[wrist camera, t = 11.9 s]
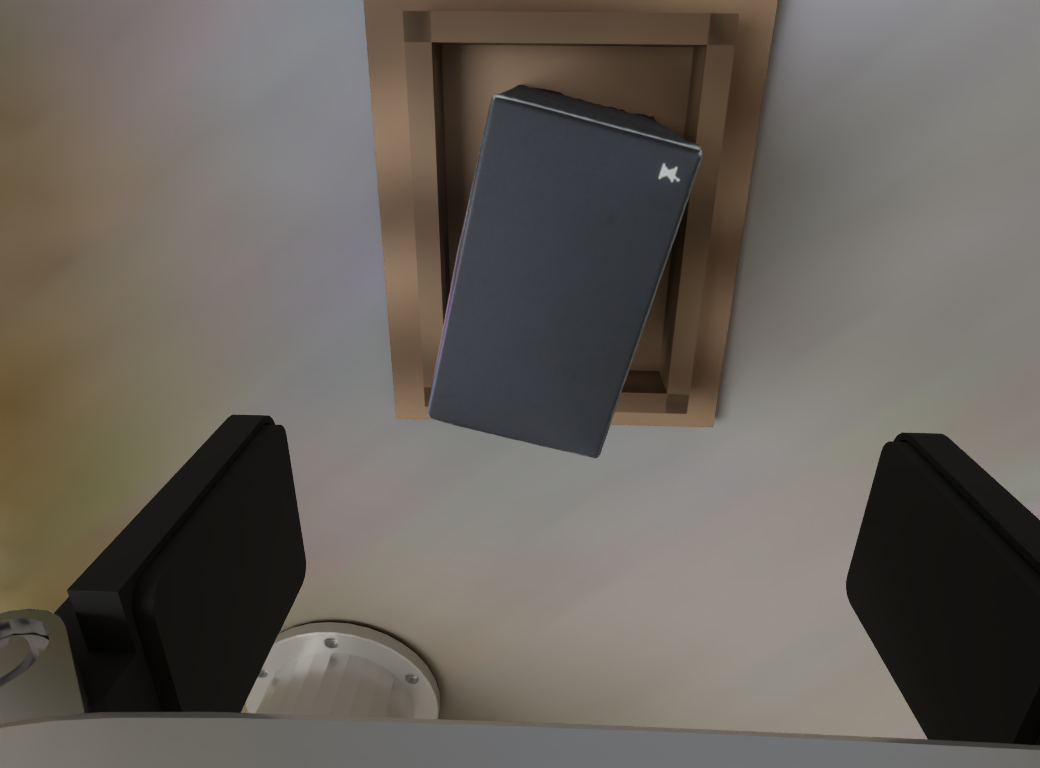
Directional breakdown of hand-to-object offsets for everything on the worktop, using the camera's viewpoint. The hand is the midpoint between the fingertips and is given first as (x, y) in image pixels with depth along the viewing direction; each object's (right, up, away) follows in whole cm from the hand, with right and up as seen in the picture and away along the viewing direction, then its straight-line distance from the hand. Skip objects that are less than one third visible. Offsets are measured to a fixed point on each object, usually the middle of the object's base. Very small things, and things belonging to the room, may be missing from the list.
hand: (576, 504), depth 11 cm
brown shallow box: (+1, +9, +20) cm, 22 cm away
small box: (+1, +9, +19) cm, 21 cm away
